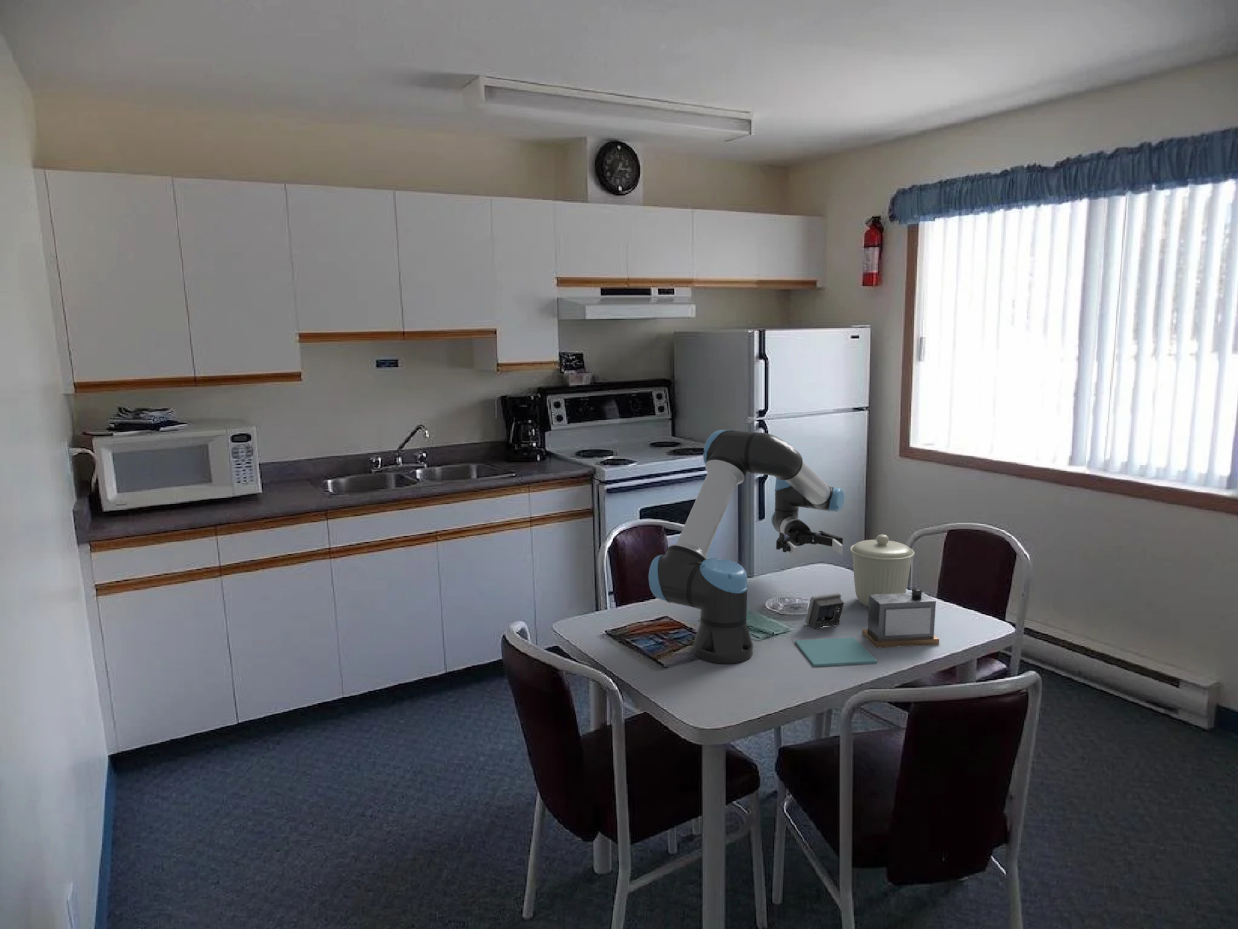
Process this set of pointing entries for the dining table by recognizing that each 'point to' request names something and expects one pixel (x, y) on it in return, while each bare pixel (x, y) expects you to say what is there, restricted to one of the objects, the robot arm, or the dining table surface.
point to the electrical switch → (824, 610)
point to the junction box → (901, 619)
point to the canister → (880, 567)
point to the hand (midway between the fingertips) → (818, 551)
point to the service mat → (835, 652)
